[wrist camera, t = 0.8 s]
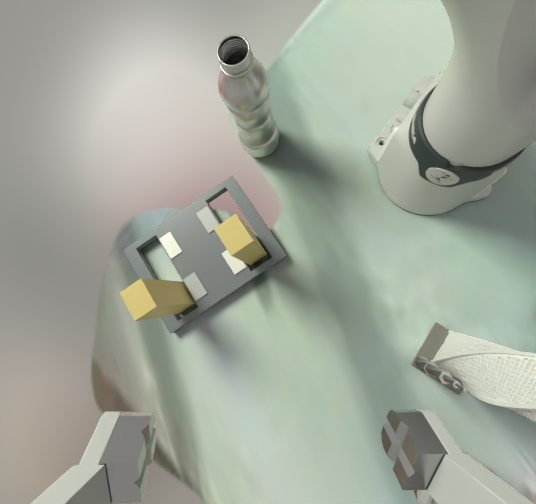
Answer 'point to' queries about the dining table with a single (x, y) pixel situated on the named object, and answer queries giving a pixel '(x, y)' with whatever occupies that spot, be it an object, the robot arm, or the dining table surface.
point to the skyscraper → (481, 369)
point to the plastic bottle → (247, 96)
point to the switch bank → (204, 252)
